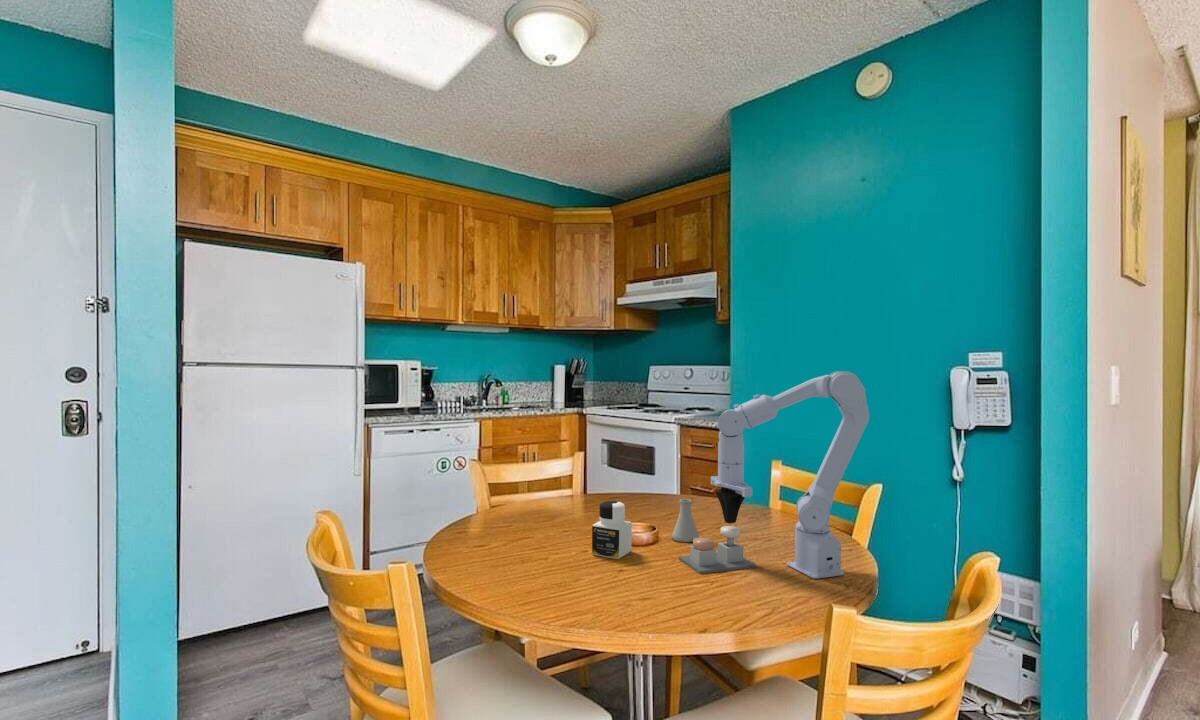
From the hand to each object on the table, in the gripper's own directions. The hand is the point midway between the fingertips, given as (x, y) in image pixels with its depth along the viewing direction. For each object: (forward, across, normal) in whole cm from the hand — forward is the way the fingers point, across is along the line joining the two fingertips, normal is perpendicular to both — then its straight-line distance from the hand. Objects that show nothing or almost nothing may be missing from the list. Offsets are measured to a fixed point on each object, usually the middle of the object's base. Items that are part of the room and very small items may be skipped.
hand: (730, 522), depth 135 cm
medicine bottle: (+9, -14, -24) cm, 29 cm away
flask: (+9, -19, -1) cm, 21 cm away
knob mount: (+9, 0, -3) cm, 10 cm away
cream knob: (+6, 0, 0) cm, 6 cm away
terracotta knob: (+8, 0, -7) cm, 11 cm away
